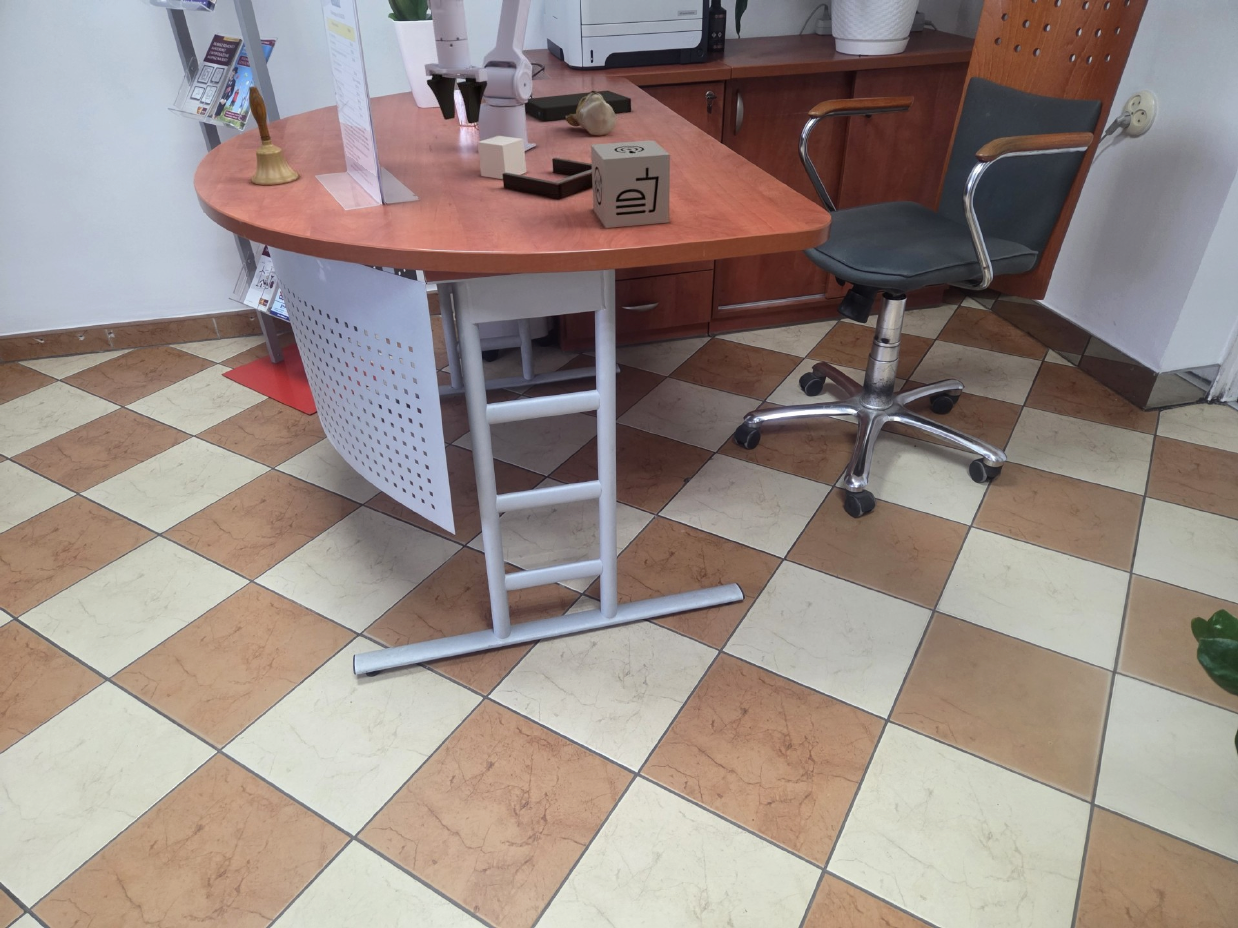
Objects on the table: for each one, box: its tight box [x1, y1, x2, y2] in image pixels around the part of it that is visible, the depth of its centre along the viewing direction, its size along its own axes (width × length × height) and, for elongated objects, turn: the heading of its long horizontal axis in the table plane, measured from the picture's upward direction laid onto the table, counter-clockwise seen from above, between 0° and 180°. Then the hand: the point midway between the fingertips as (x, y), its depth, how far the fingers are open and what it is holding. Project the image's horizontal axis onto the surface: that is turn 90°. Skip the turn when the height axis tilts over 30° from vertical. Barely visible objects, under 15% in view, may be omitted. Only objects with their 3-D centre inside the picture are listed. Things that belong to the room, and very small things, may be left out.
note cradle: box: [502, 157, 593, 200], centre depth 142 cm, size 13×14×3 cm
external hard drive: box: [525, 90, 632, 123], centre depth 199 cm, size 14×23×3 cm, turn 115°
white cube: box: [477, 136, 527, 180], centre depth 149 cm, size 6×6×6 cm
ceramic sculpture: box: [564, 90, 617, 137], centre depth 178 cm, size 11×9×15 cm
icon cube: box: [590, 139, 671, 229], centre depth 124 cm, size 10×10×10 cm
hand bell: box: [248, 85, 299, 186], centre depth 146 cm, size 8×8×16 cm
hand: (461, 120), depth 151 cm, fingers open, 6 cm apart
